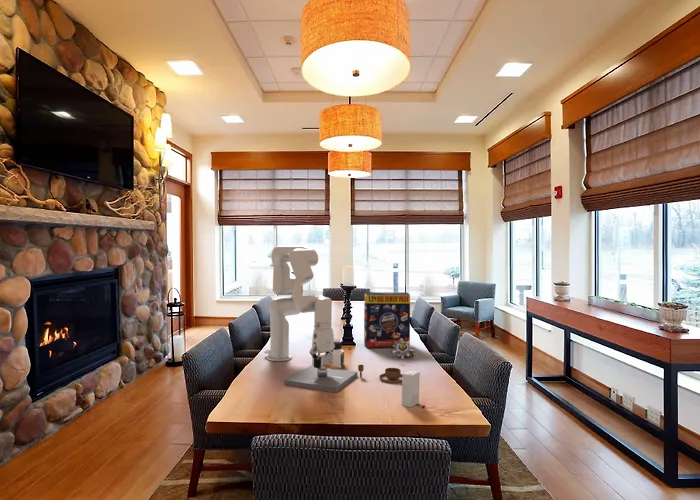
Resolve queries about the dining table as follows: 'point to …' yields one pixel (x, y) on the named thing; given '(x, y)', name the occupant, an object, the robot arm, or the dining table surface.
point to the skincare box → (410, 388)
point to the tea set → (387, 374)
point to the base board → (321, 379)
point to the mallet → (326, 361)
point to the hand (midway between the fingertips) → (322, 365)
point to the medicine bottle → (338, 354)
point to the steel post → (322, 372)
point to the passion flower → (402, 348)
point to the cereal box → (386, 318)
